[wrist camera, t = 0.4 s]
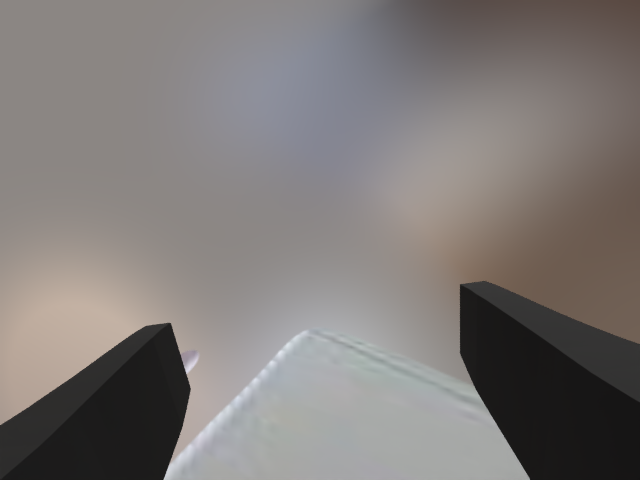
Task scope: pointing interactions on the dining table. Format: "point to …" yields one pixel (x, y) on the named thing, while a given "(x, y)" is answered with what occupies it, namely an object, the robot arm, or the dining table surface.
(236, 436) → the dining table surface
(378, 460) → the dining table surface
